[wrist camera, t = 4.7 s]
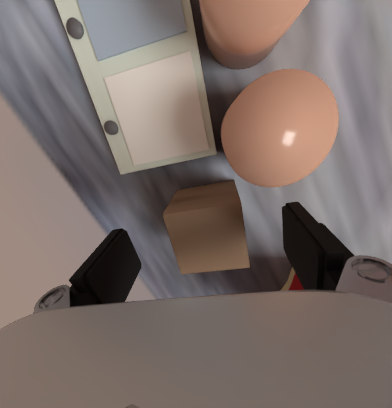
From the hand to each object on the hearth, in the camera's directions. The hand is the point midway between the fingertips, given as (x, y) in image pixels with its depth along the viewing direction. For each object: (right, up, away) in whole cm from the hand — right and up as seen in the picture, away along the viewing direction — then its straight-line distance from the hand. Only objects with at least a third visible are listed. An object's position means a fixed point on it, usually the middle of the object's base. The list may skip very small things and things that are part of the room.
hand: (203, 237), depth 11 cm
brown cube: (+1, +1, +6) cm, 6 cm away
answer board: (-4, +12, +2) cm, 13 cm away
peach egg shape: (+4, +8, +3) cm, 9 cm away
